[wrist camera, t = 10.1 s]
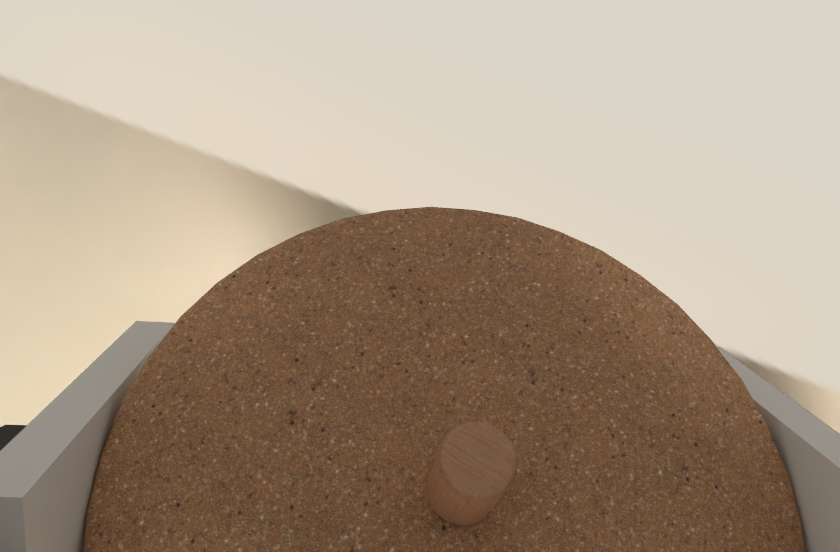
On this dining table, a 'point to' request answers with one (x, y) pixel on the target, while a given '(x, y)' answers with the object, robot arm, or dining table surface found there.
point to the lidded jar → (438, 407)
